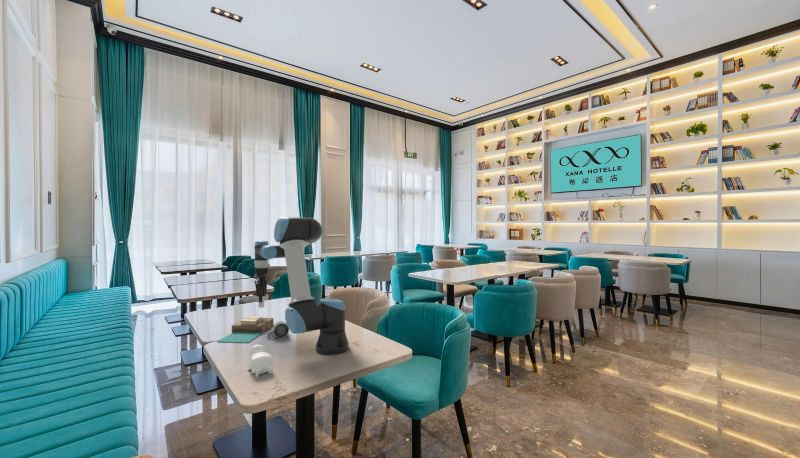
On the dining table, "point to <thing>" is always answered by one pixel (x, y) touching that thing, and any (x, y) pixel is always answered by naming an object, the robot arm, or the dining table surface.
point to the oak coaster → (251, 320)
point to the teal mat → (240, 337)
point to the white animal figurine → (260, 361)
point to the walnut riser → (253, 326)
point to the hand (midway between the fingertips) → (261, 307)
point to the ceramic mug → (279, 330)
